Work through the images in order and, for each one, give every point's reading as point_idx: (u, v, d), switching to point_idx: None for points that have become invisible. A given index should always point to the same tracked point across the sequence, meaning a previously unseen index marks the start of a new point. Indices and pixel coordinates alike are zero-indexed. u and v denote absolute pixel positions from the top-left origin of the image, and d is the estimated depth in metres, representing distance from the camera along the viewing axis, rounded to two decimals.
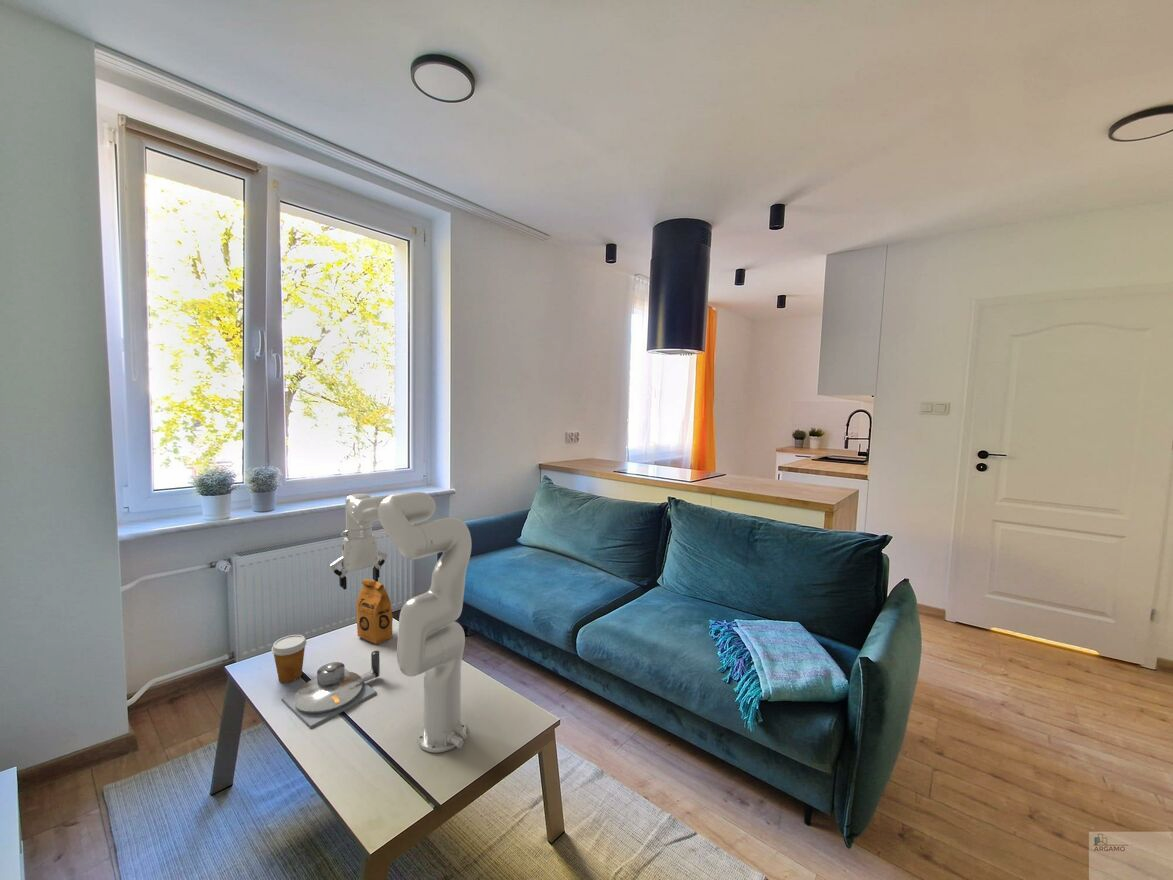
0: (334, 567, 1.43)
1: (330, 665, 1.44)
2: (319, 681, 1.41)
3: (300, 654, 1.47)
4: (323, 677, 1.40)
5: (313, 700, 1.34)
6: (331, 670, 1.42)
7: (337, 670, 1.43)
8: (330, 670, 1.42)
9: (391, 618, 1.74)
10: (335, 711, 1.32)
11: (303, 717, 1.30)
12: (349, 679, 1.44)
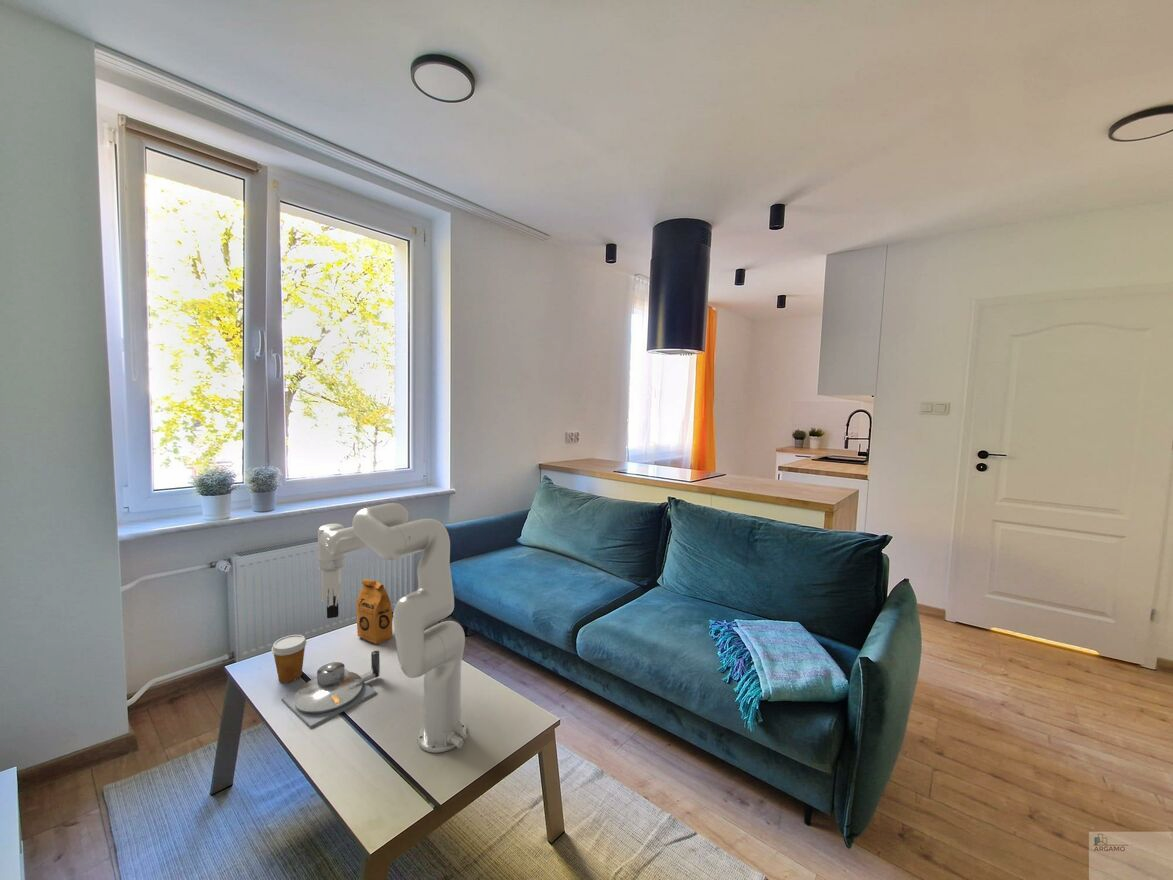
0: None
1: (330, 665, 1.44)
2: (319, 681, 1.41)
3: (300, 654, 1.47)
4: (323, 677, 1.40)
5: (313, 700, 1.34)
6: (331, 670, 1.42)
7: (337, 670, 1.43)
8: (330, 670, 1.42)
9: (391, 618, 1.74)
10: (335, 711, 1.32)
11: (303, 717, 1.30)
12: (349, 679, 1.44)
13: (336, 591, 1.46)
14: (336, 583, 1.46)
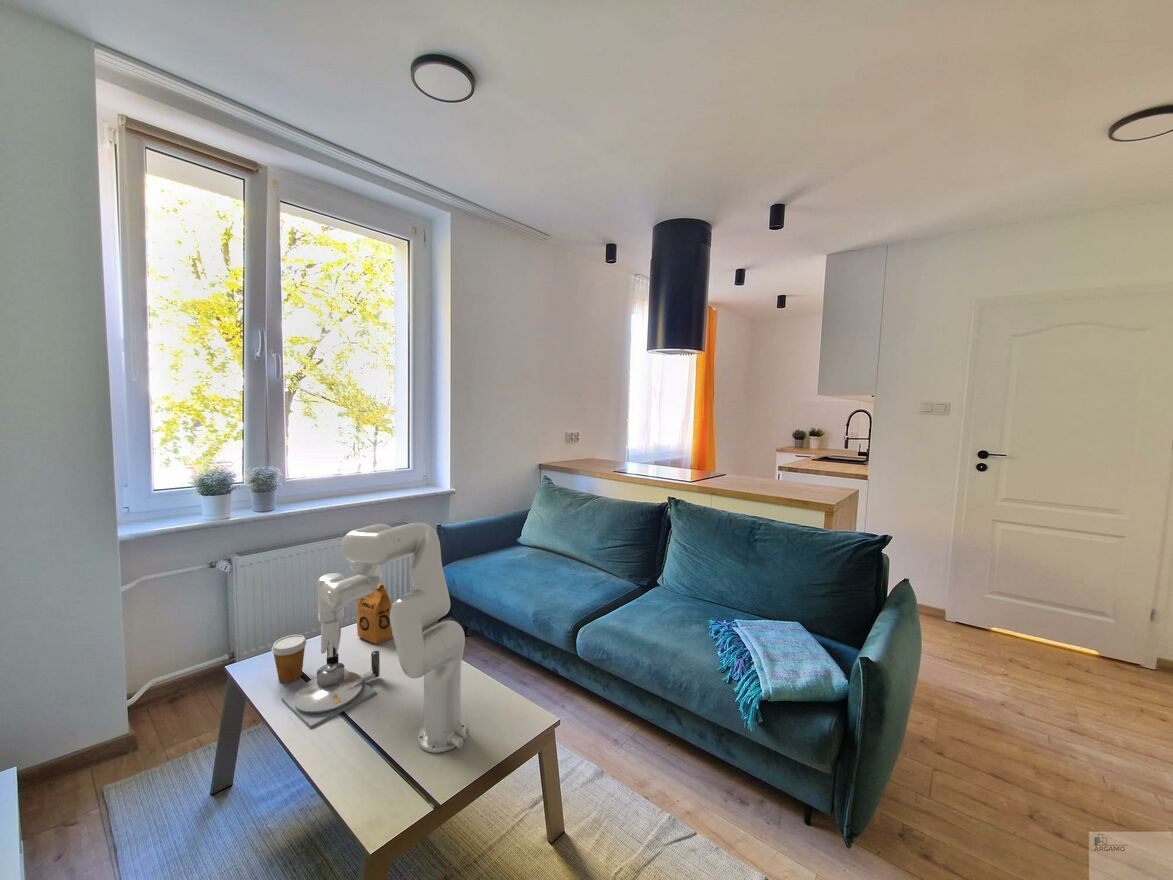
0: None
1: (330, 665, 1.44)
2: (319, 681, 1.40)
3: (300, 654, 1.47)
4: (323, 677, 1.40)
5: (313, 700, 1.34)
6: (331, 670, 1.42)
7: (337, 671, 1.43)
8: (330, 670, 1.42)
9: None
10: (335, 711, 1.32)
11: (303, 717, 1.30)
12: (349, 679, 1.44)
13: (336, 643, 1.44)
14: (335, 634, 1.44)
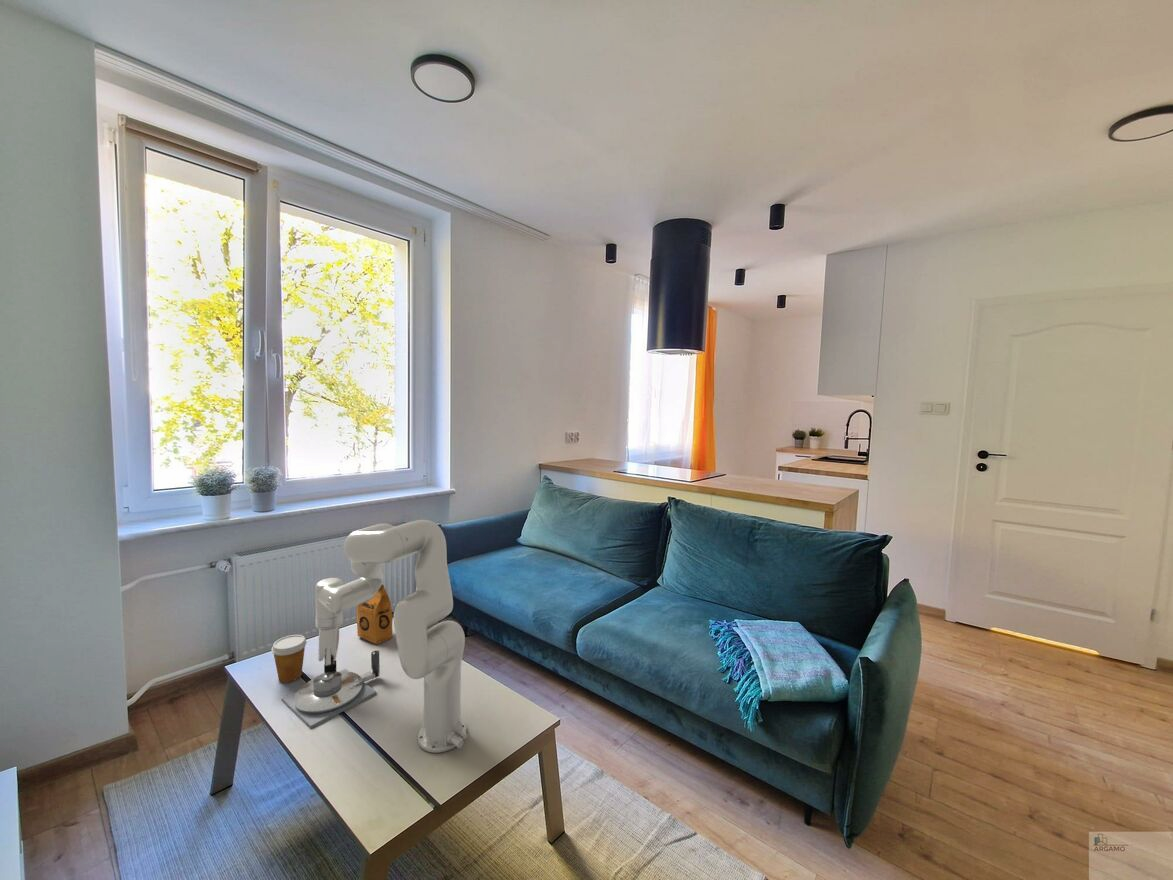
0: None
1: (327, 674, 1.39)
2: (315, 691, 1.36)
3: (300, 654, 1.47)
4: (319, 687, 1.35)
5: (313, 700, 1.34)
6: (327, 680, 1.38)
7: (333, 680, 1.38)
8: (326, 680, 1.37)
9: (391, 618, 1.74)
10: (335, 711, 1.32)
11: (303, 717, 1.30)
12: (349, 679, 1.44)
13: (334, 650, 1.40)
14: (333, 641, 1.40)
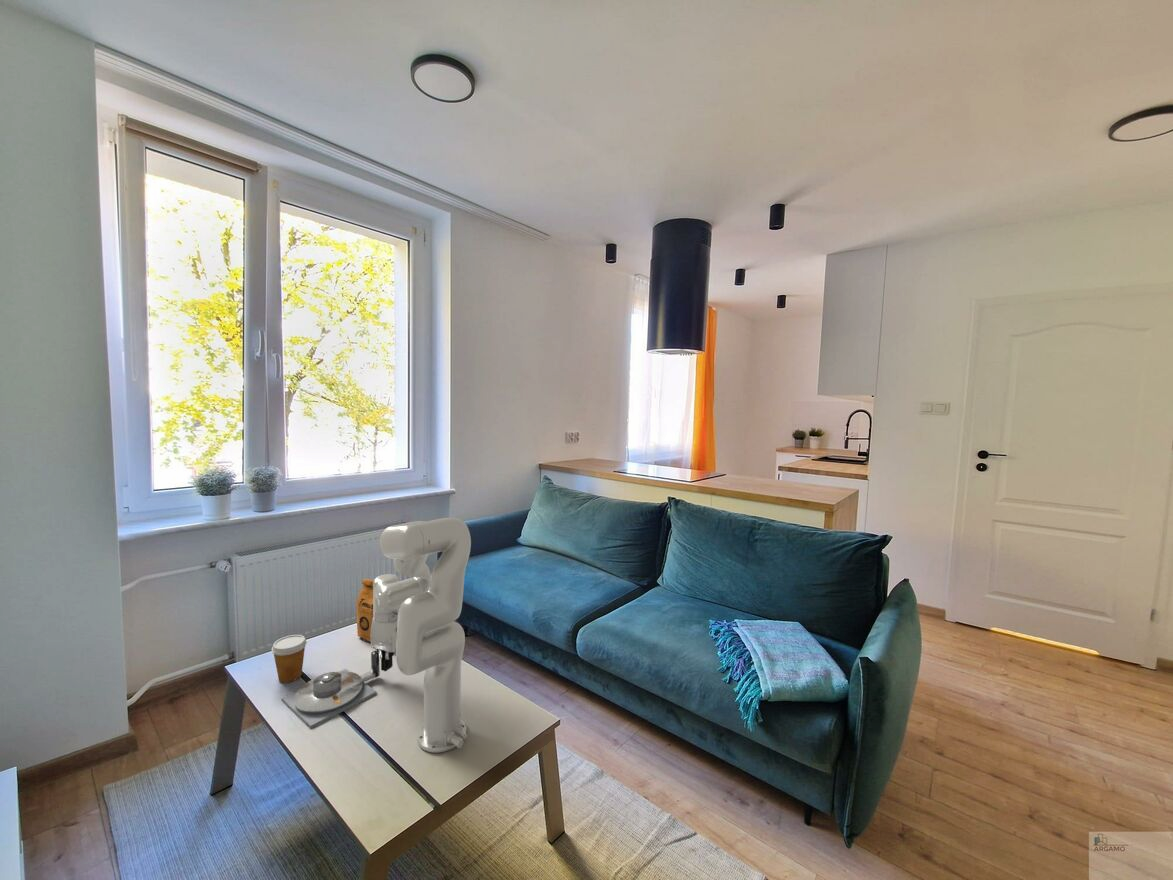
0: None
1: (326, 675, 1.39)
2: (315, 692, 1.35)
3: (300, 654, 1.47)
4: (319, 688, 1.35)
5: (313, 700, 1.34)
6: (327, 681, 1.37)
7: (333, 681, 1.38)
8: (326, 681, 1.37)
9: None
10: (335, 711, 1.32)
11: (303, 717, 1.30)
12: (349, 679, 1.44)
13: None
14: None
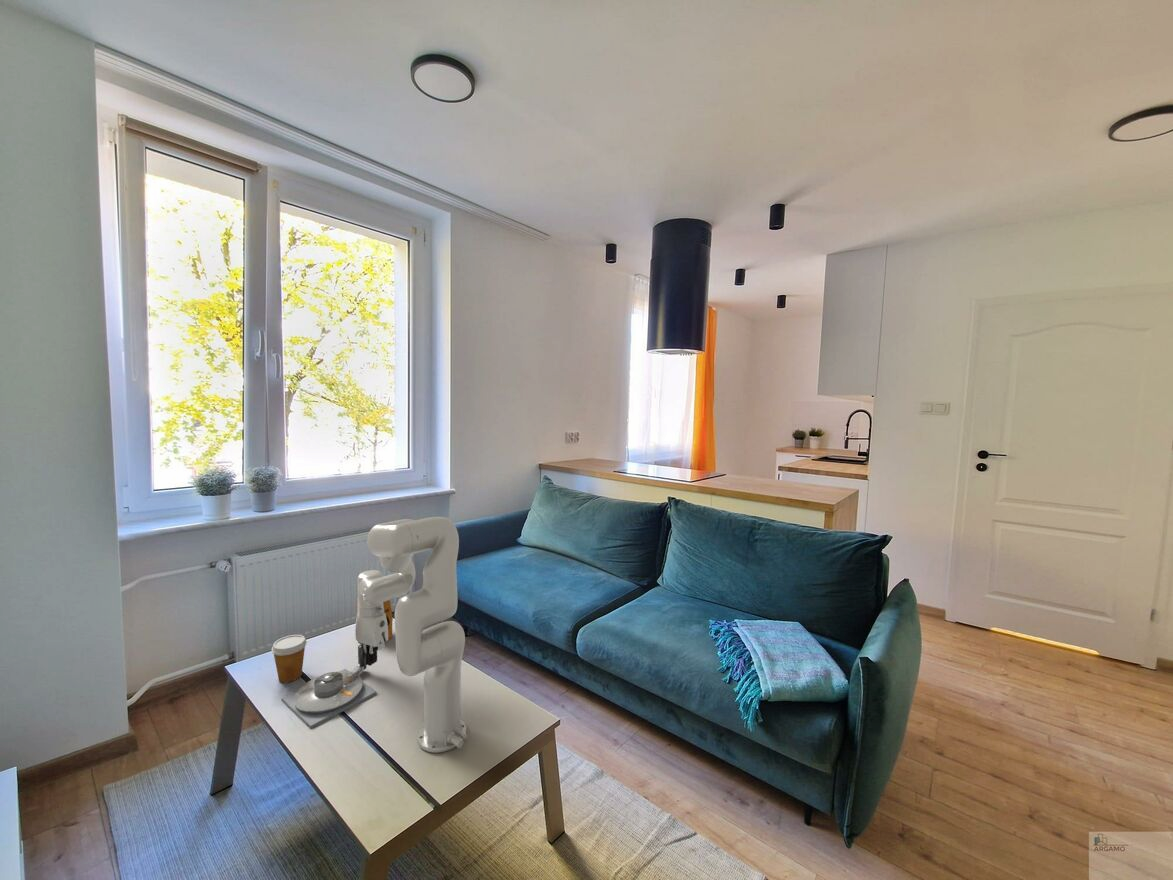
0: None
1: (327, 676, 1.39)
2: (322, 693, 1.35)
3: (300, 654, 1.47)
4: (327, 687, 1.35)
5: (323, 701, 1.34)
6: (331, 679, 1.38)
7: (337, 678, 1.39)
8: (331, 680, 1.38)
9: (391, 618, 1.74)
10: (335, 711, 1.32)
11: (303, 717, 1.30)
12: None
13: None
14: None
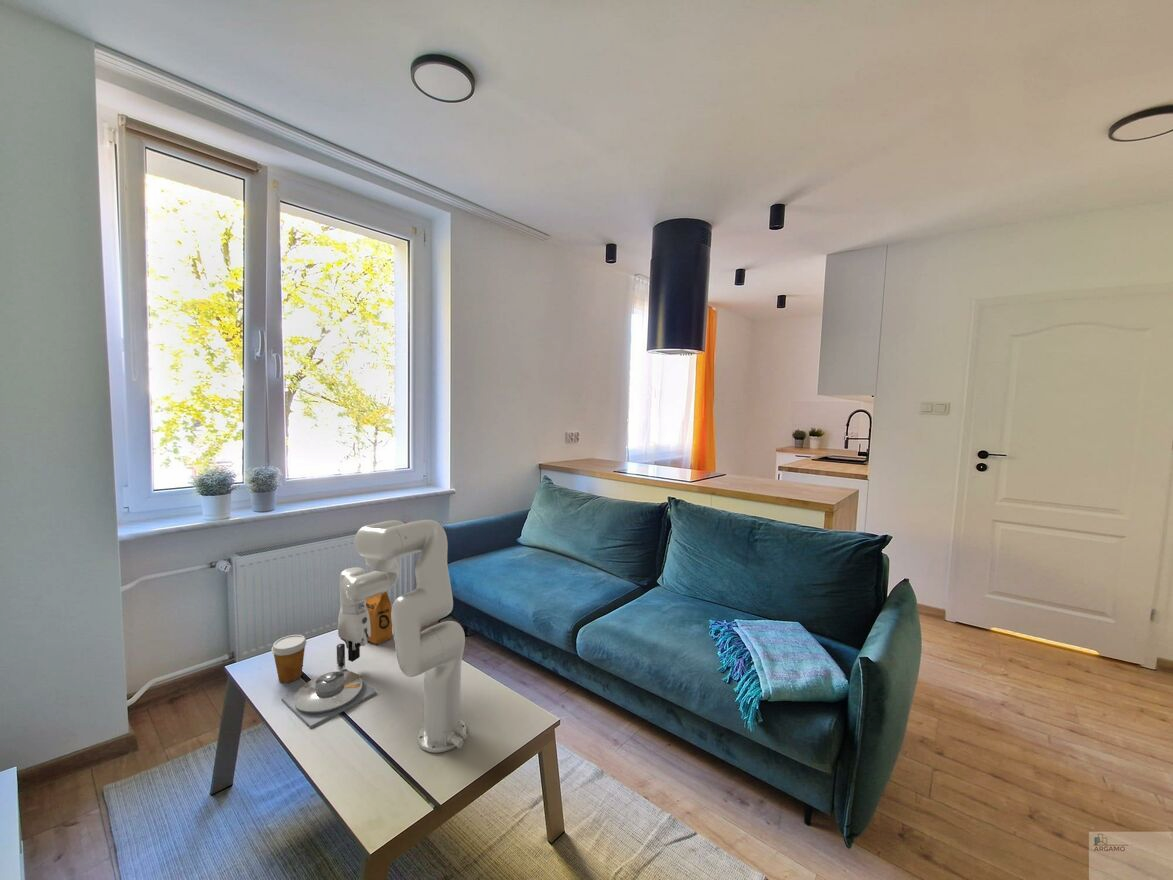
0: None
1: (328, 676, 1.38)
2: (330, 692, 1.36)
3: (300, 654, 1.47)
4: (336, 684, 1.37)
5: (334, 698, 1.35)
6: (335, 677, 1.39)
7: (339, 676, 1.40)
8: (334, 678, 1.38)
9: None
10: (335, 711, 1.32)
11: (303, 717, 1.30)
12: None
13: None
14: None
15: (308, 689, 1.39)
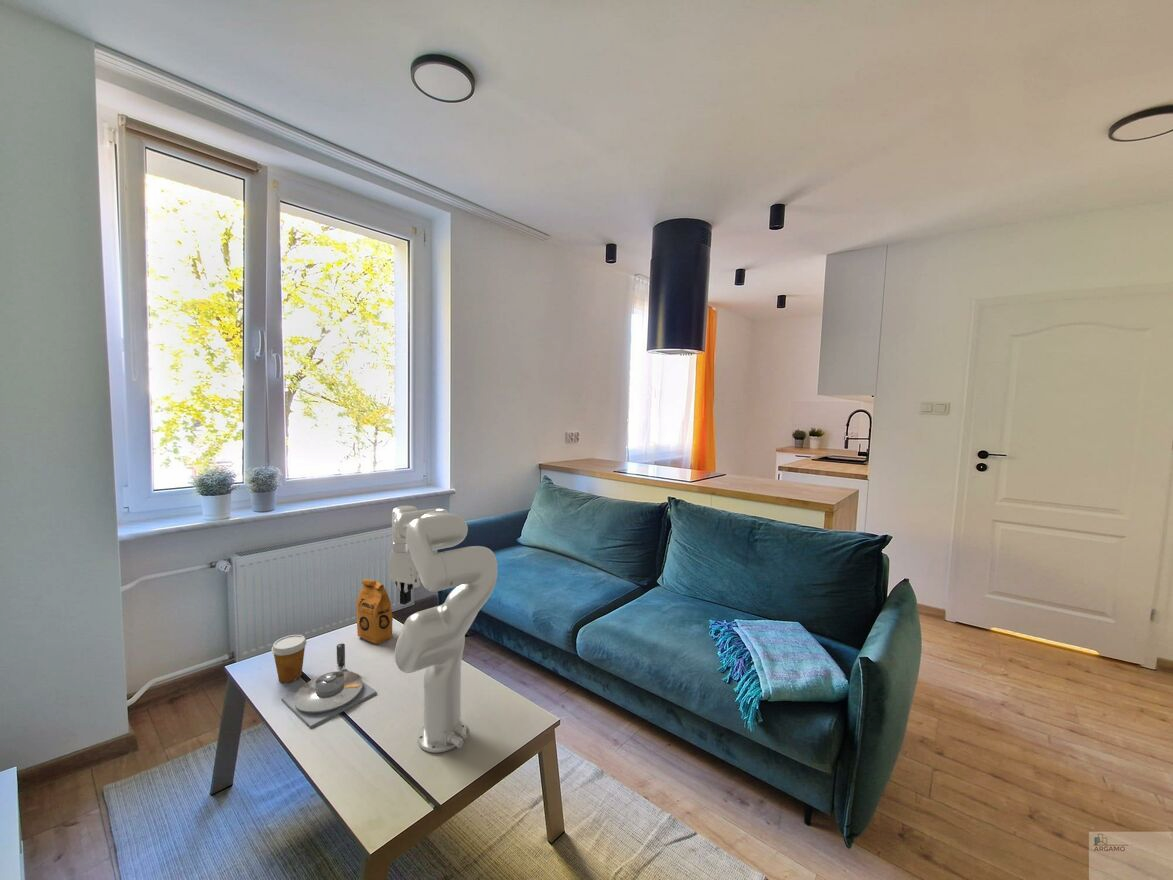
0: None
1: (328, 676, 1.38)
2: (330, 692, 1.36)
3: (300, 654, 1.47)
4: (336, 684, 1.37)
5: (334, 698, 1.35)
6: (335, 677, 1.39)
7: (339, 676, 1.40)
8: (334, 678, 1.38)
9: (391, 618, 1.74)
10: (335, 711, 1.32)
11: (303, 717, 1.30)
12: None
13: None
14: None
15: (308, 689, 1.39)
